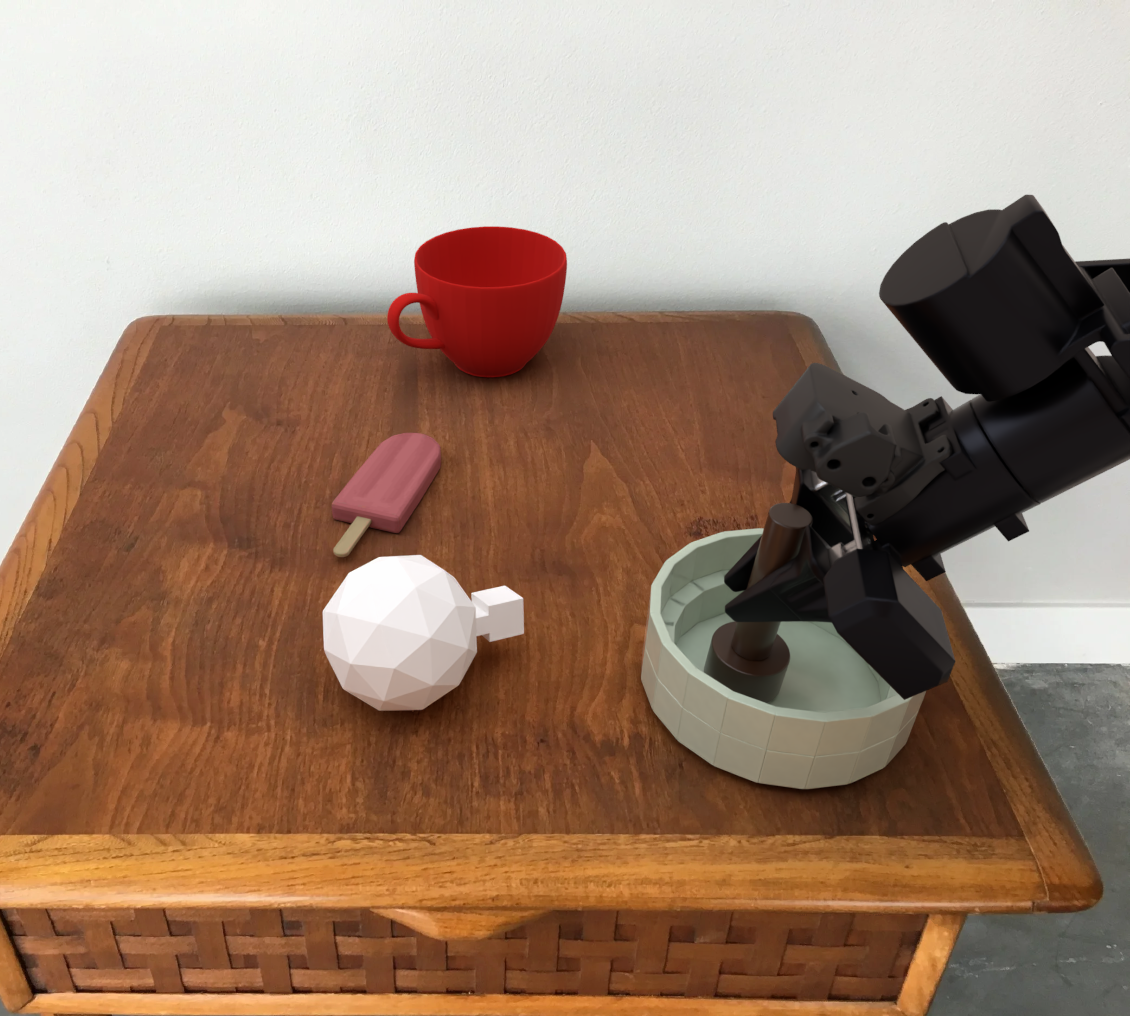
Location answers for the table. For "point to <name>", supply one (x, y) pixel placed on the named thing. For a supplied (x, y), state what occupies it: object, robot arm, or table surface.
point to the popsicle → (386, 487)
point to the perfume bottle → (410, 630)
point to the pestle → (754, 649)
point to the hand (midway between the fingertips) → (728, 599)
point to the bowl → (805, 701)
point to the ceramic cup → (486, 297)
